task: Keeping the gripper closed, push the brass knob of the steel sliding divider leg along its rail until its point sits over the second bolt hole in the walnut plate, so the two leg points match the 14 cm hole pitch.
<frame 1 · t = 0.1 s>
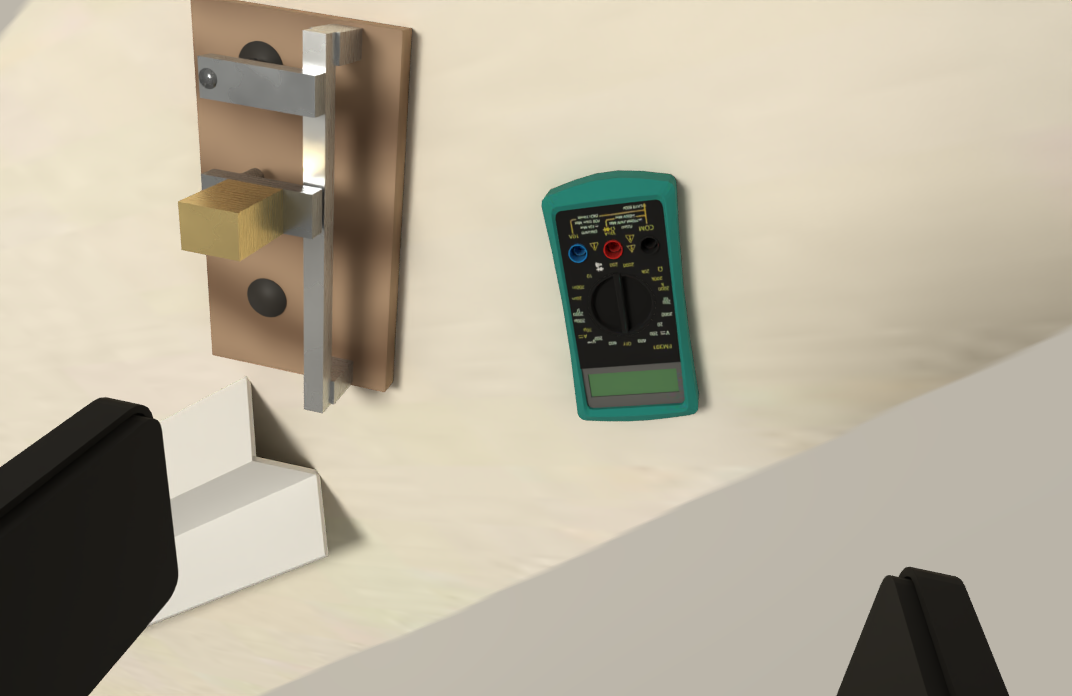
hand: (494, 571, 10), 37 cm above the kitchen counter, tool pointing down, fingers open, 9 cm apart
z bracket: (184, 501, 63), on the kitchen counter
bolt plate: (307, 205, 49), on the kitchen counter
digital multimeter: (626, 294, 48), on the kitchen counter
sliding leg: (258, 205, 42), point 7 cm above the kitchen counter, slide at 0.0 cm
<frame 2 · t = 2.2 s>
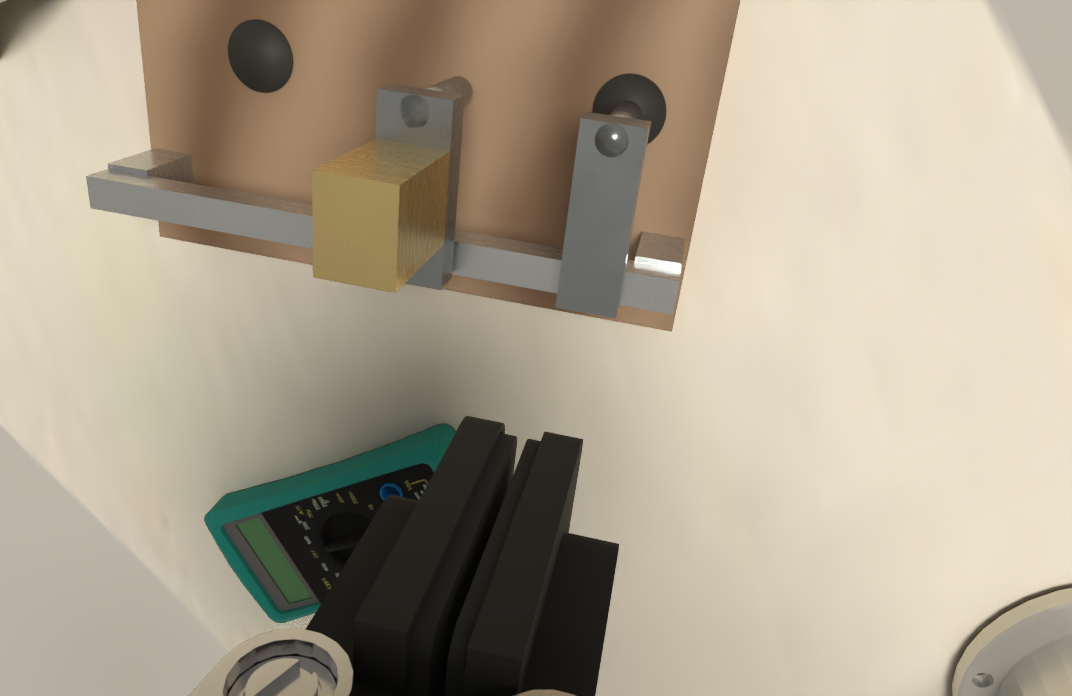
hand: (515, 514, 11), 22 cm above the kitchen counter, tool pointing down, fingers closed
bolt plate: (423, 127, 32), on the kitchen counter
digital multimeter: (368, 511, 42), on the kitchen counter
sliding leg: (412, 192, 26), point 7 cm above the kitchen counter, slide at 0.0 cm
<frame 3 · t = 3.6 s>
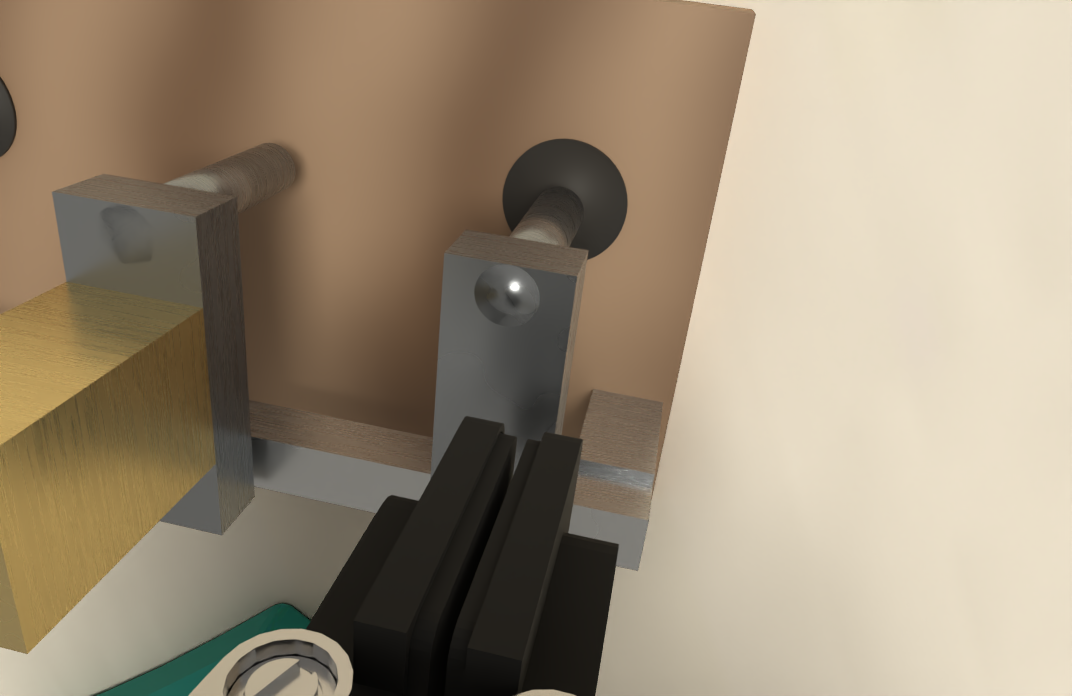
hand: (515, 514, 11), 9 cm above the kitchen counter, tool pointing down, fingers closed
bolt plate: (247, 212, 20), on the kitchen counter
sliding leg: (149, 374, 14), point 7 cm above the kitchen counter, slide at 0.0 cm
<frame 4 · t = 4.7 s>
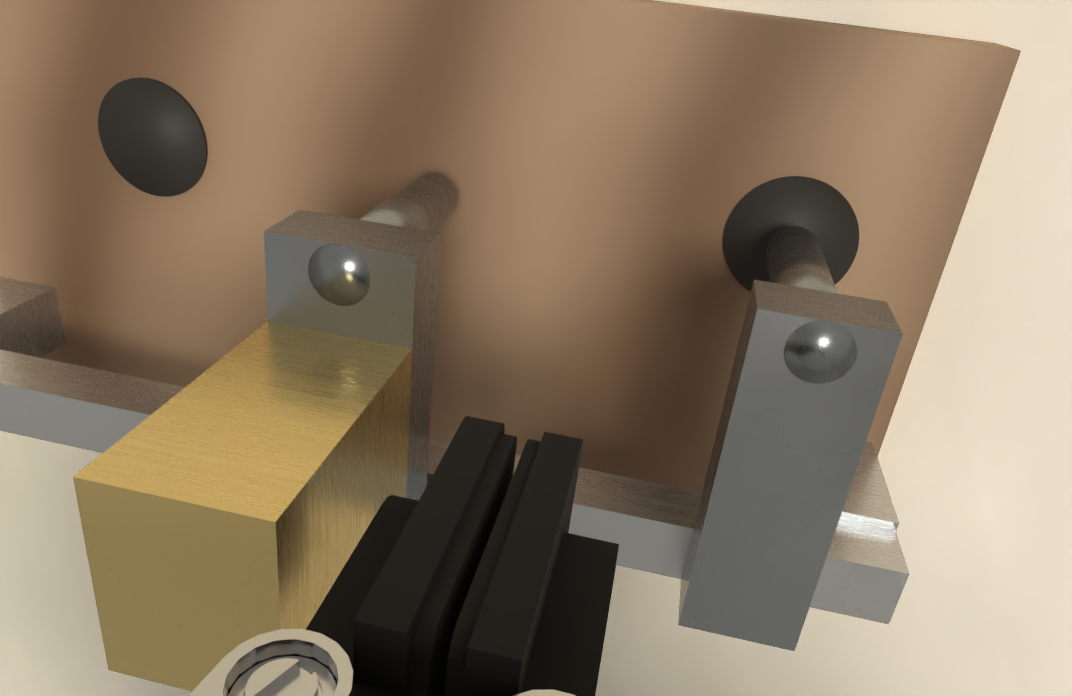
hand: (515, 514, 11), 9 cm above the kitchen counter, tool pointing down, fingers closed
bolt plate: (427, 246, 20), on the kitchen counter
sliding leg: (343, 414, 14), point 7 cm above the kitchen counter, slide at 1.2 cm, touching gripper
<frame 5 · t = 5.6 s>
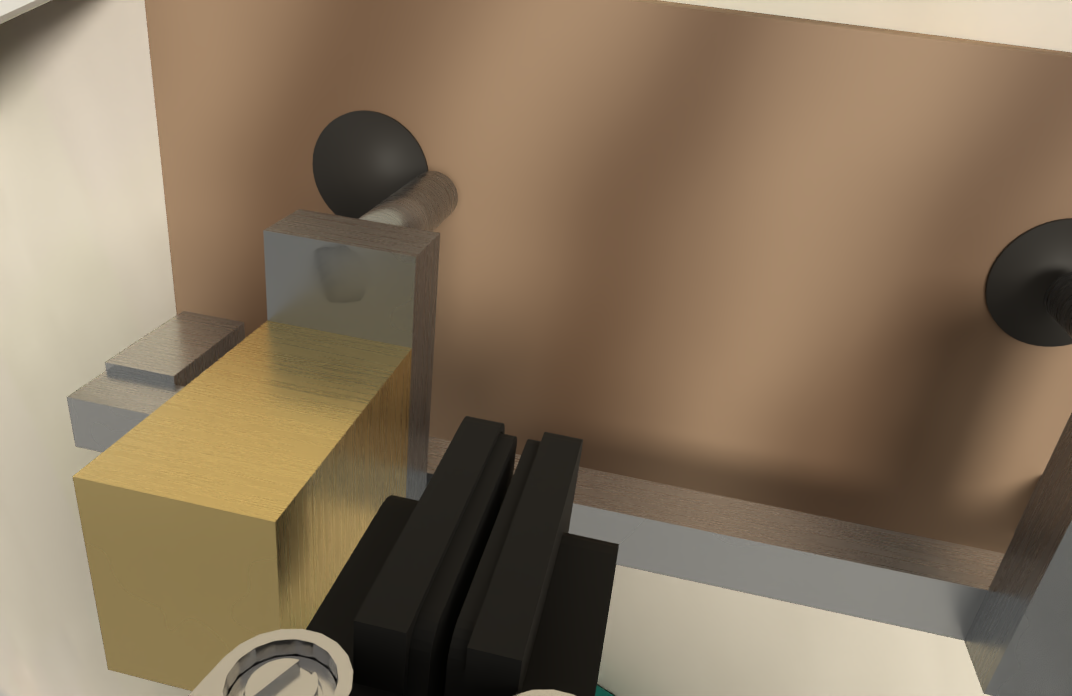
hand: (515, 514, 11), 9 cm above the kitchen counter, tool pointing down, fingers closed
bolt plate: (638, 281, 19), on the kitchen counter
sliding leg: (342, 413, 14), point 7 cm above the kitchen counter, slide at 6.3 cm, touching gripper
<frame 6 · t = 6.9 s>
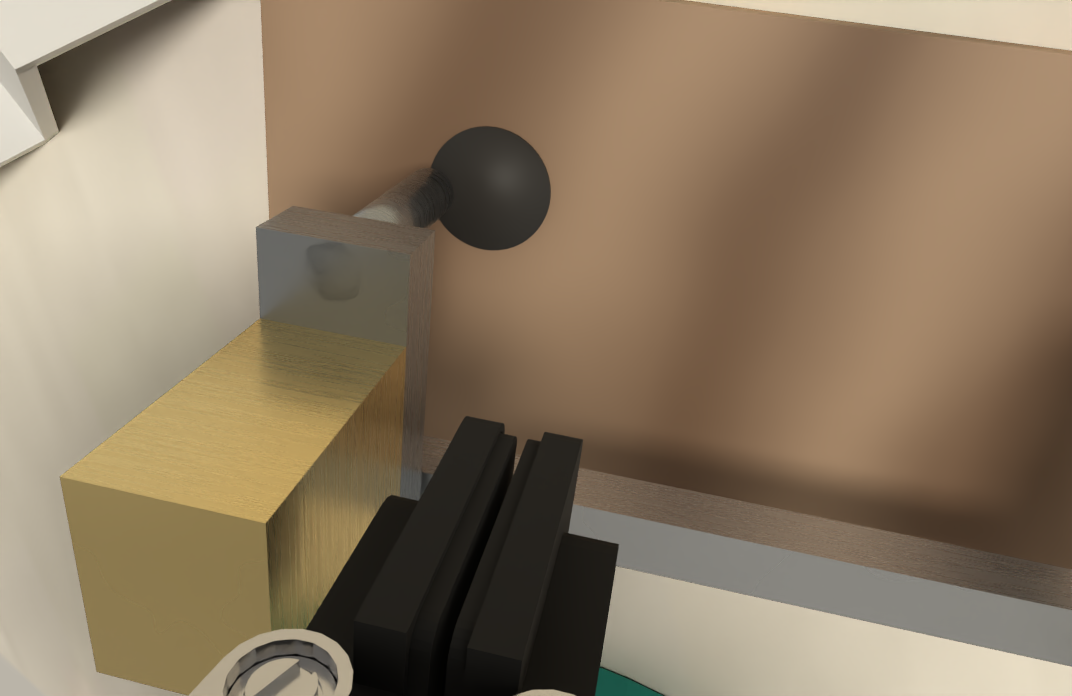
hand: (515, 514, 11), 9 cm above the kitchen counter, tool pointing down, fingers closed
bolt plate: (753, 300, 18), on the kitchen counter
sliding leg: (336, 412, 13), point 7 cm above the kitchen counter, slide at 9.0 cm, touching gripper
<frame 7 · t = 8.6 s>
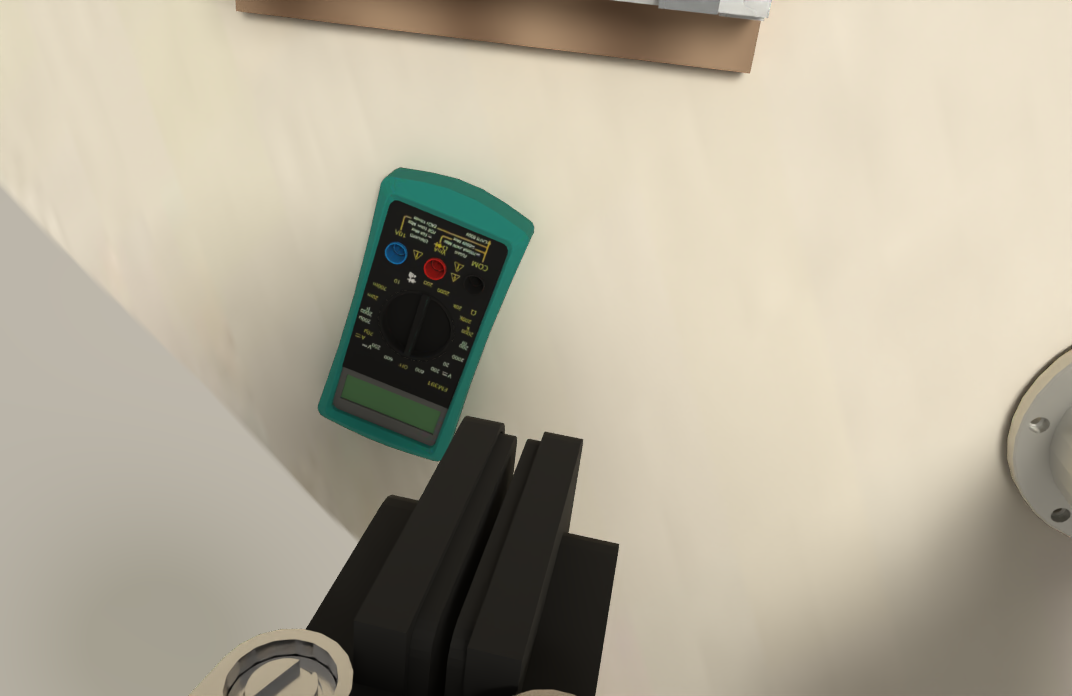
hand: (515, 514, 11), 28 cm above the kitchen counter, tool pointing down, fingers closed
digital multimeter: (428, 311, 42), on the kitchen counter
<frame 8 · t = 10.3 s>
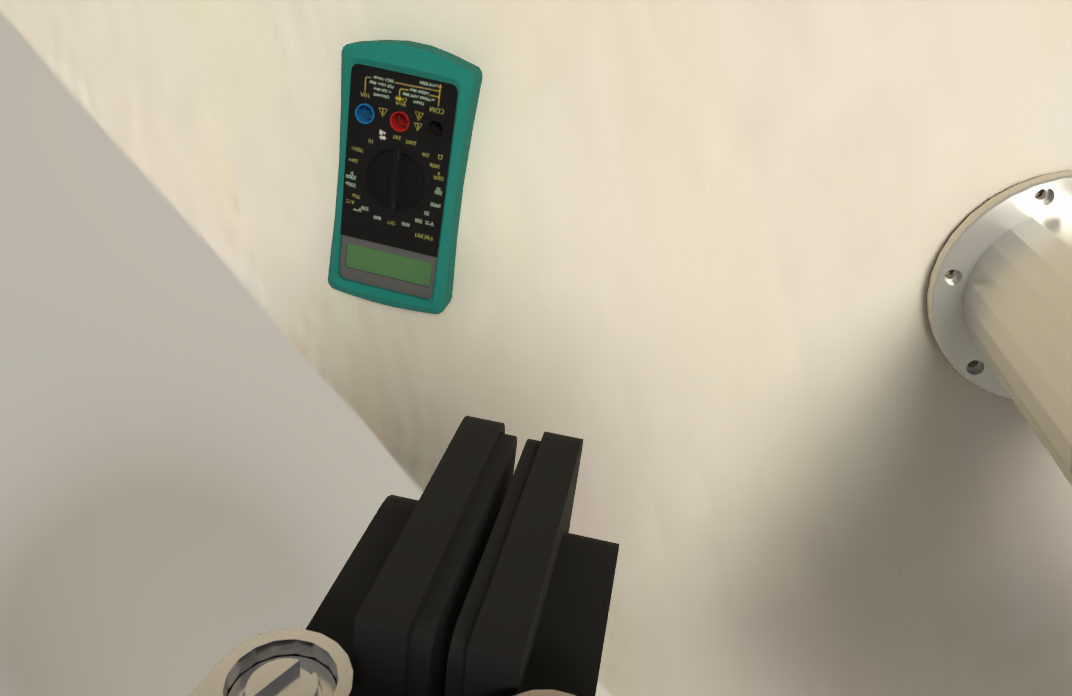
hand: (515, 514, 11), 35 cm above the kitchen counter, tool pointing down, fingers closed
digital multimeter: (410, 177, 47), on the kitchen counter
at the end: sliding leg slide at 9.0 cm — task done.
